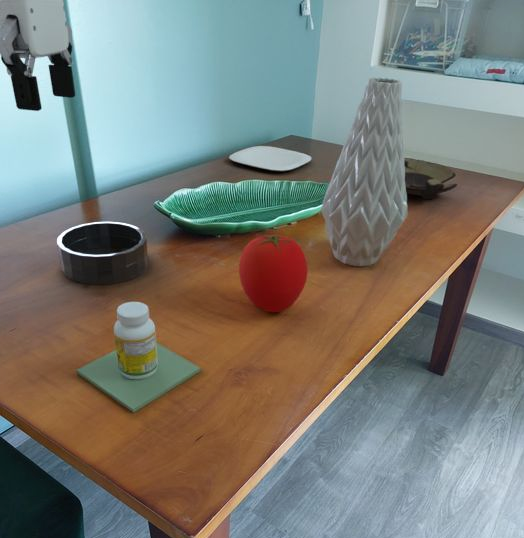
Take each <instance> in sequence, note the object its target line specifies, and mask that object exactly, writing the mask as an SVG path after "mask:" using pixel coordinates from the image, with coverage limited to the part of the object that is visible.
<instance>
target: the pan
mask: <svg viewBox="0 0 524 538" xmlns="http://www.w3.org/2000/svg"><path fill="white" fill-rule="evenodd" d="M56 246H57V252H58V257H59V262H60V269H61V271H62V273H63V275H64V276H65V277H66V278H68V279H69V280H71V281H73V282H76V283H80V284H84V285H92V286H108V285H116V284H121V283H122V284H123V283H126V282H129V281H131V280H134V279H137V278H138V277H140V276H141V275H142V274H143V273H145V272H146V271H147V269H148V266H149V253H148V240H147V235H146V233H145V232H144V230H143V229H142V228H140V227H139V226H135V225H133V224H130V223H125V222H118V221H116V222H115V221H95V222H89V223H88V222H87V223H83V224H78V225H76V226H73V227H70V228H68V229H67V230H64V231H62V232H61V234H60V235H58V237H57V239H56Z"/></svg>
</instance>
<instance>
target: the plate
mask: <svg viewBox="0 0 524 538" xmlns="http://www.w3.org/2000/svg"><path fill="white" fill-rule="evenodd" d="M228 159H229V160H230V161H232V162H233V163H236V164H239V165H243V166H247V167H250V168H253V169H254V168H255V169H258V170H262V171H270V172H290V171H292V170H296V169H298V168H300V167H302V166H305V165H307V164H309V162H311V161H312V156H310V155H308V154H306V153H302V152H299V151H294V150H290V149H286V148H281V147H276V146H269V145H267V146H266V145H258V146H252V147H251V146H250V147H247V148H244V149H240V150H238V151H236V152H233V153H232V154H229V157H228Z"/></svg>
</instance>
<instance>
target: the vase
mask: <svg viewBox="0 0 524 538" xmlns="http://www.w3.org/2000/svg"><path fill="white" fill-rule="evenodd" d="M402 87H403V82H402V81H401V80H400V79H395V78H388V77H385V78H382V77H378V78H376V77H373V78H368V81H367V85H366V86H365V88H364V92H363V94H362V96H361V97H362V98H361V101H360V103H359V104H358V106H357V109H356V113H355V116H354V120H353V122H352V124H351V127H350V130H349V133H348V135H347V136H346V140H345V142H344V144H343V147H342V149H341V152H340V155H339V158H338V159H337V160H336V161H337V162H336V164H335V168H334V170H333V173H332V176H331V178H330V181H329V184H328V186H327V189H326V192H325V194H324V198H323V200H322V202H321V203H322V205H321V208H320V212H321V214H322V216H323V218H324V221H325V224H324V226H325V227H324V229H325V232H326V235H327V240H328V242H329V243H330V244H329V245H330V246H331V250H332V254H333V256H334V257H333V258H335V259H336V260H337V261H338V262H339V263H342V264H344V265H348V266H352V267H359V268H361V267H368V266H369V267H370V266H372V265H375V264H376V263H377V262H378V261H379V259H380V257H381V256H382V254H384V253H386V252H387V251H388V248H389V247H390V245H391V244H392V241H393V240H394V238H395V237H396V236H397V234H398V230H399V229H400V228H401V227H402V226H403V224H404V222H405V221H406V219H407V218H408V215H409V212H408V208H409V207H408V194H407V193H406V186H405V168H406V166H404V159H405V150H404V149H405V145H404V135H403V134H404V133H403V99H402V89H403V88H402Z"/></svg>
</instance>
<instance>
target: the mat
mask: <svg viewBox="0 0 524 538" xmlns="http://www.w3.org/2000/svg"><path fill="white" fill-rule="evenodd" d="M156 347H157V359H158V368H157V370H156V372H155V373H154V374H153V375H151V376H149V377H147V378H144V379H130V378H127V377H125V376H124V375H122V374H121V373H120V371H119V367H118V359H117V351H116V349H114V350H112V351H111V352H108V353H107V354H105V355H103V356H101V357H99V358H96V359H95V360H93V361H91V362H89V363H86V364H85V365H82V366H81V367H80V368H77V369H76V373H77V374H78V375H79V376H81V377H82V378H83V379H85V380H86V381H88V382H89V383H90V384H92V385H93V386H95V387H96V388H97V389H99V390H100V391H101V392H103V393H105V394H106V395H107V396H109V397H110V398H112V399H113V400H114V401H116V402H118V403H119V404H120V405H122V406H123V407H124V408H126V409H127V410H129V411H130V412H131V413H135V412H137V411H139V410H140V409H142V408H144V407H145V406H147V405H148V404H150V403H151V402H153V401H155V400H157V399H158V398H160V397H162V396H163V395H165V394H166V393H168V392H169V391H172V390H173V389H174V388H176V387H177V386H179V385H181V384H183V383H184V382H185V381H187V380H189V379H190V378H192V377H193V376H195V375H196V374H199V373H200V372H201V367H199V366H198V365H196V364H195V363H193V362H191V361H190V360H188V359H186V358H184V357H183V356H181V355H180V354H177V353H176V352H174V351H173V350H171V349H169V348H167V347H166V346H164V345H162V344H161V343H158V342H157V341H156Z"/></svg>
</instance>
